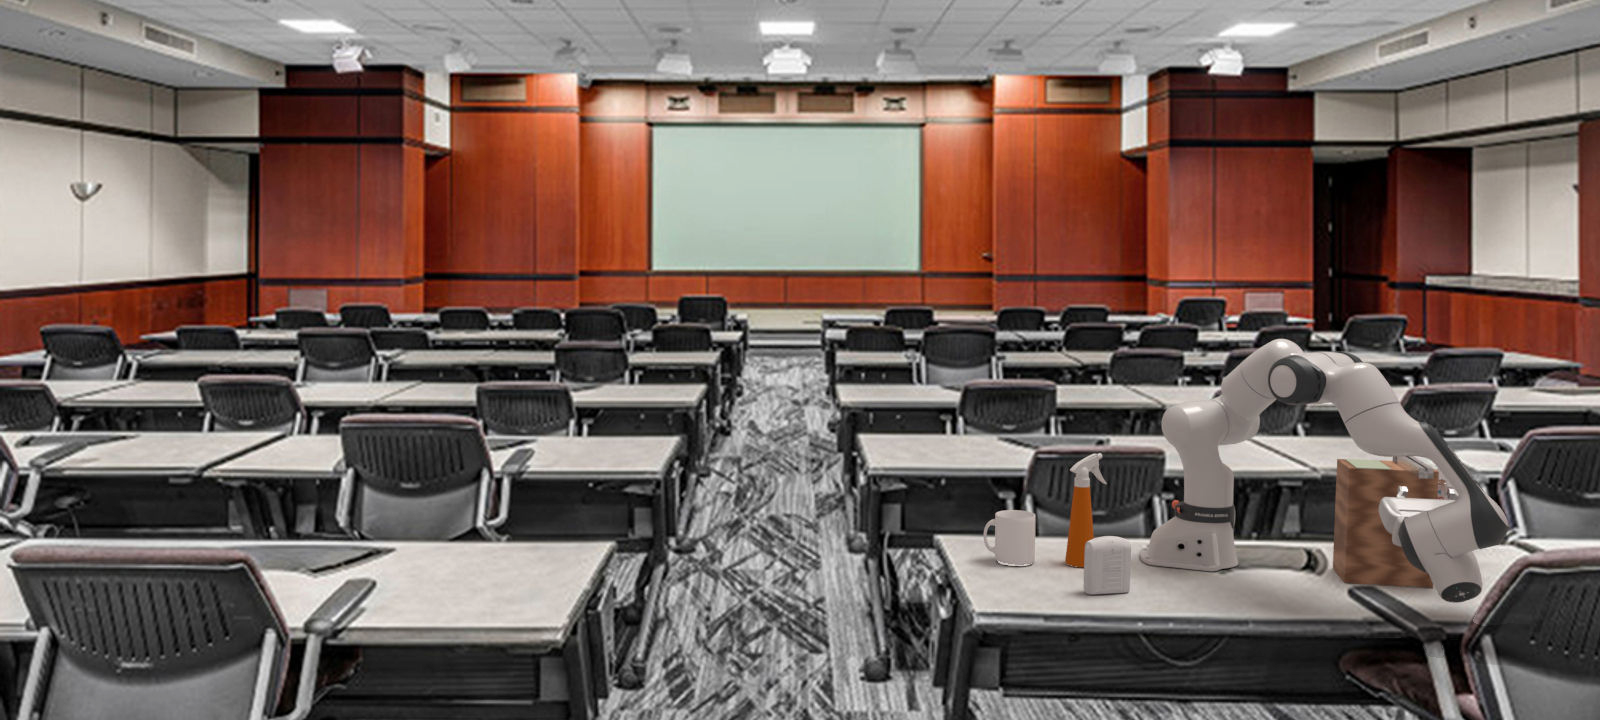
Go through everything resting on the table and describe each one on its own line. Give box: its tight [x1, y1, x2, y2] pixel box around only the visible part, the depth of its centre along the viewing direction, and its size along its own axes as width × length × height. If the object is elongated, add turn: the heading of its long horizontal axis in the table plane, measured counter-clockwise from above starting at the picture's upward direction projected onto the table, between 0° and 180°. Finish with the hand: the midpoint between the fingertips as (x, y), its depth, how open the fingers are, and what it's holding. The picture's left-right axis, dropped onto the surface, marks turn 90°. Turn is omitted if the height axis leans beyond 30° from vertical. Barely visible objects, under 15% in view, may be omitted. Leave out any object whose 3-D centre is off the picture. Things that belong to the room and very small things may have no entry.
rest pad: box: [1344, 458, 1391, 470], centre depth 257 cm, size 7×11×1 cm, turn 167°
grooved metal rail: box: [1392, 456, 1435, 479], centre depth 251 cm, size 20×3×3 cm, turn 167°
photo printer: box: [1083, 535, 1132, 595], centre depth 248 cm, size 10×4×12 cm, turn 103°
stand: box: [1332, 458, 1439, 589], centre depth 258 cm, size 18×12×26 cm, turn 77°
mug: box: [983, 509, 1036, 565], centre depth 273 cm, size 10×12×12 cm
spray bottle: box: [1064, 452, 1108, 567], centre depth 271 cm, size 7×11×26 cm, turn 116°
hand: (1426, 489), depth 240 cm, fingers open, 8 cm apart
